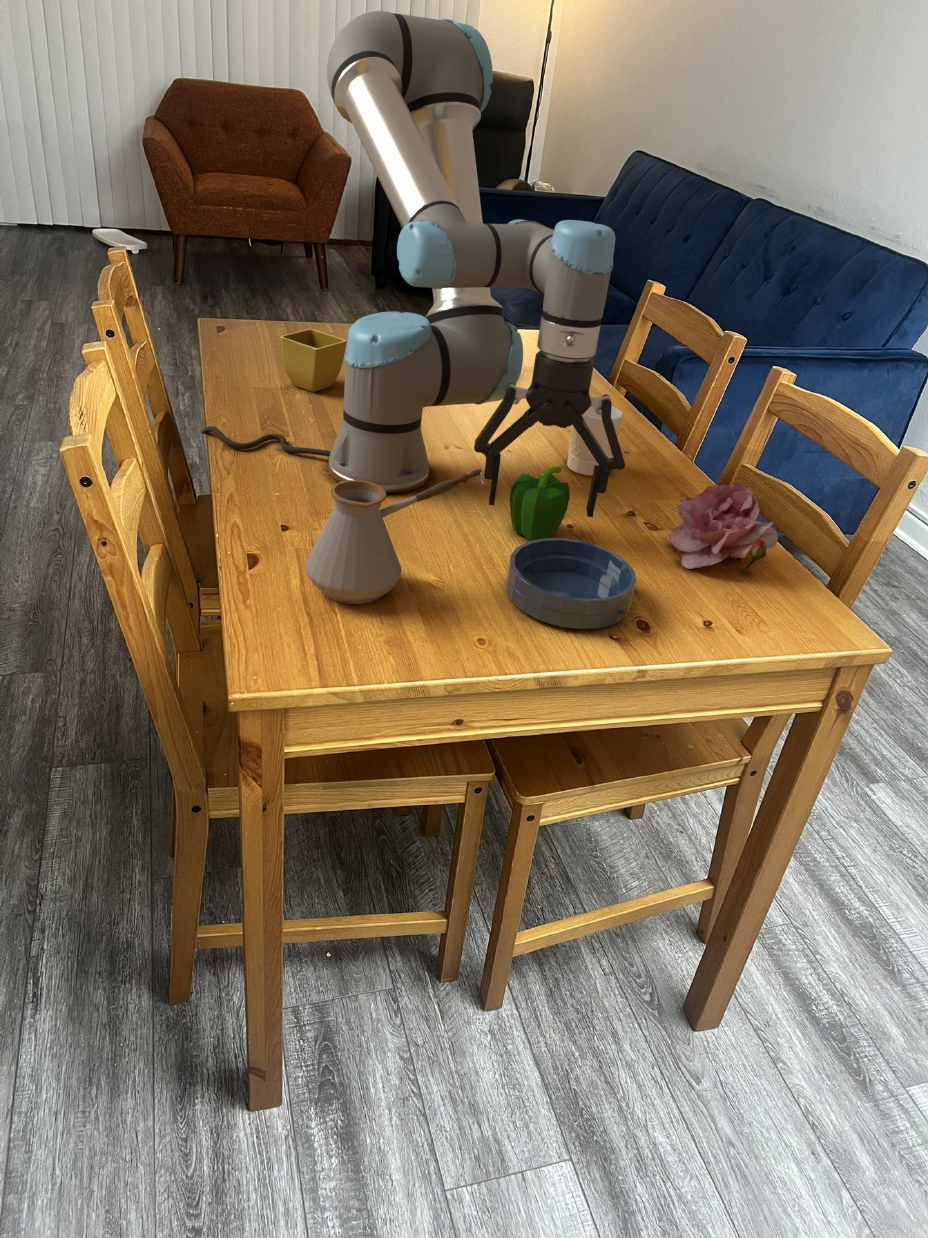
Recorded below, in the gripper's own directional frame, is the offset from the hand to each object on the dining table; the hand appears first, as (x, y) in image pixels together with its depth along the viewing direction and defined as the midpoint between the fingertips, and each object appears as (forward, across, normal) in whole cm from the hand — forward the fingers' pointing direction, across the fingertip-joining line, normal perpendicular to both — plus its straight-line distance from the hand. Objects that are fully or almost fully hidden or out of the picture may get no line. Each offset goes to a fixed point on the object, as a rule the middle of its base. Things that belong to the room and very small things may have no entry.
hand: (540, 507), depth 130 cm
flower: (+5, +26, 0) cm, 26 cm away
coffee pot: (+5, -18, -19) cm, 26 cm away
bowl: (+5, +4, -17) cm, 18 cm away
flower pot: (+4, -41, +49) cm, 64 cm away
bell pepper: (+5, 0, 0) cm, 5 cm away
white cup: (+4, +9, +27) cm, 29 cm away
